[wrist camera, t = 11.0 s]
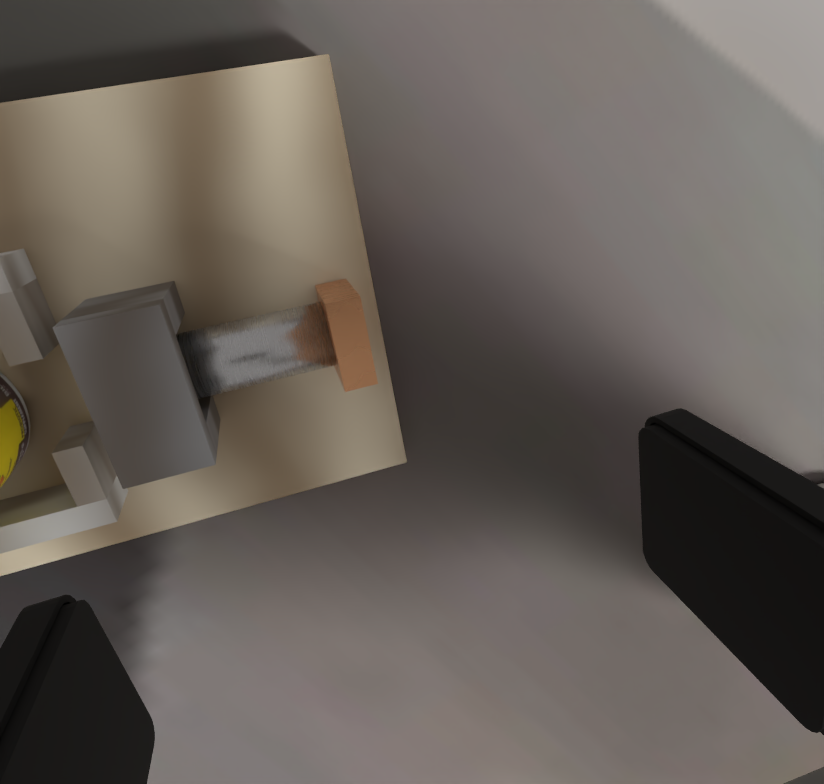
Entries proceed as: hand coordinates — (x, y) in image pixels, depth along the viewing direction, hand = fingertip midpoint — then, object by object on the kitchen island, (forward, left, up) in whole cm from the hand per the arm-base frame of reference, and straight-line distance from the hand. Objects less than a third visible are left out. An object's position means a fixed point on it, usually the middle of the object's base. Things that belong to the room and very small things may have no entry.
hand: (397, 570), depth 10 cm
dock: (+9, -1, -16) cm, 18 cm away
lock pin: (+2, 0, -14) cm, 14 cm away
